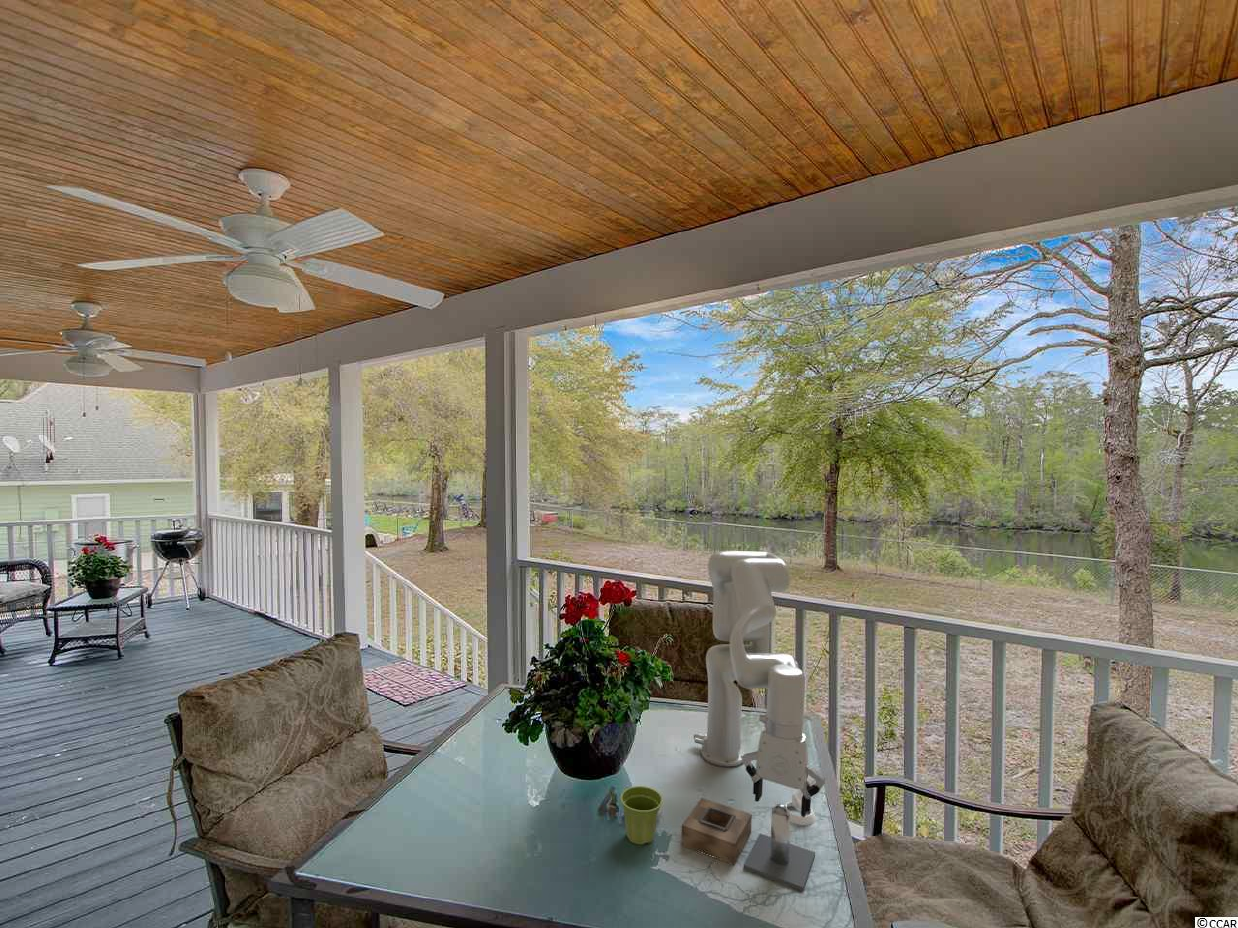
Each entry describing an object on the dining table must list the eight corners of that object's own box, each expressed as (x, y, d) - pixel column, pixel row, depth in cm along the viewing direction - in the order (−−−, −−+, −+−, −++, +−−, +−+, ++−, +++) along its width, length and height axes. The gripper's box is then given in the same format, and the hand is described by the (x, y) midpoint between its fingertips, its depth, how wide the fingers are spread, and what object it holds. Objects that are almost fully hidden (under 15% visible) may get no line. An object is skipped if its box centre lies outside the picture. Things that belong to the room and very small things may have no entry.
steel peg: (768, 860, 123) (769, 806, 123) (773, 849, 126) (774, 797, 126) (786, 866, 121) (788, 812, 121) (790, 855, 125) (792, 802, 124)
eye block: (681, 845, 128) (681, 822, 128) (701, 816, 139) (701, 795, 139) (734, 865, 122) (735, 841, 122) (751, 833, 133) (751, 812, 133)
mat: (743, 868, 121) (743, 864, 121) (759, 836, 132) (759, 833, 132) (803, 891, 116) (803, 887, 116) (814, 855, 126) (815, 852, 126)
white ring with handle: (841, 805, 136) (820, 791, 135) (808, 840, 138) (786, 827, 136) (827, 780, 144) (807, 767, 142) (795, 814, 145) (775, 801, 144)
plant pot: (666, 828, 134) (667, 791, 134) (654, 854, 125) (656, 814, 125) (627, 819, 137) (628, 782, 137) (613, 844, 128) (614, 804, 128)
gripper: (738, 722, 124) (735, 801, 125) (823, 745, 116) (820, 829, 117) (749, 709, 131) (746, 784, 132) (830, 729, 122) (826, 809, 123)
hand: (781, 805), depth 124 cm, fingers open, 9 cm apart
